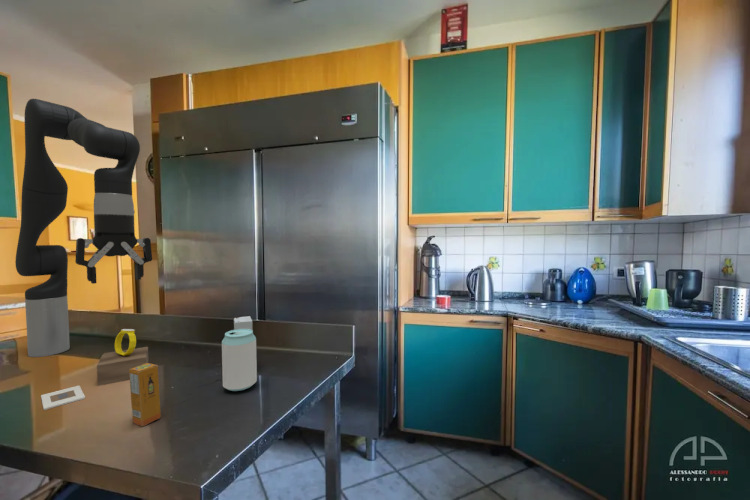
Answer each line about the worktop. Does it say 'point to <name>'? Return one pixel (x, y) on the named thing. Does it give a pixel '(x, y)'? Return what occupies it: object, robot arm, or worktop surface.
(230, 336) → the can
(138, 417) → the supplement box
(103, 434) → the worktop surface
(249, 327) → the skincare box
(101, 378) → the walnut block
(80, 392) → the card
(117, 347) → the watch
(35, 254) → the robot arm
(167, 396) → the worktop surface
